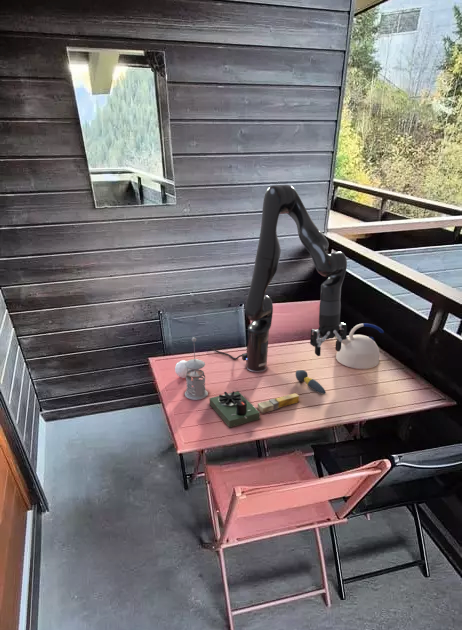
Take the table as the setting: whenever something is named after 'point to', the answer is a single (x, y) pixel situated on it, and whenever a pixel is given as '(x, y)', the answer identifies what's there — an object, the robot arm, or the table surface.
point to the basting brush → (278, 402)
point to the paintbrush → (309, 381)
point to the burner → (229, 399)
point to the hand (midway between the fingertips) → (327, 353)
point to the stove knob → (241, 407)
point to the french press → (195, 378)
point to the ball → (181, 369)
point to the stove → (234, 412)
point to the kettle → (359, 350)
